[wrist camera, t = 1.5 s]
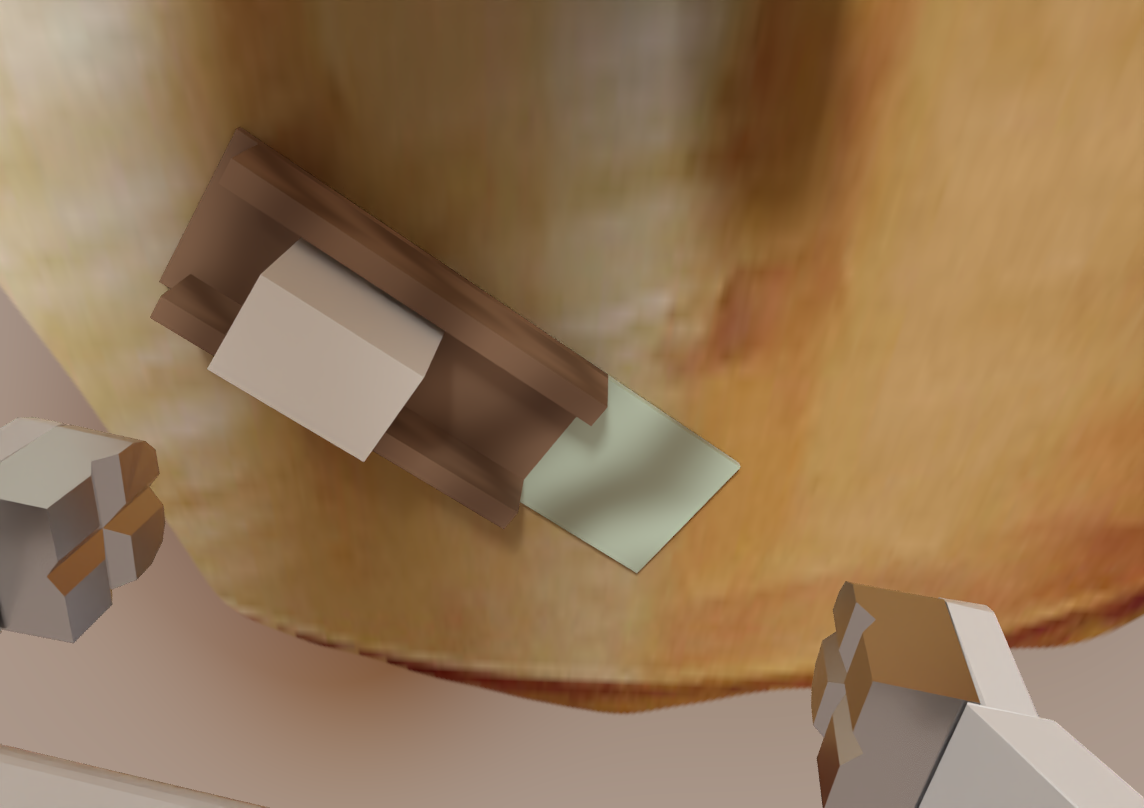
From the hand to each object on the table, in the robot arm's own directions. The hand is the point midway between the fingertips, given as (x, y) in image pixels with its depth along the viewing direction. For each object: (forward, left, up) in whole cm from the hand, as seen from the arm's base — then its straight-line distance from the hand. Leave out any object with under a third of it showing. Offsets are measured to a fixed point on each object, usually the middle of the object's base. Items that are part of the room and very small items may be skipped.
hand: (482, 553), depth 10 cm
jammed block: (-3, -12, -27) cm, 30 cm away
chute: (+3, -12, -28) cm, 31 cm away
